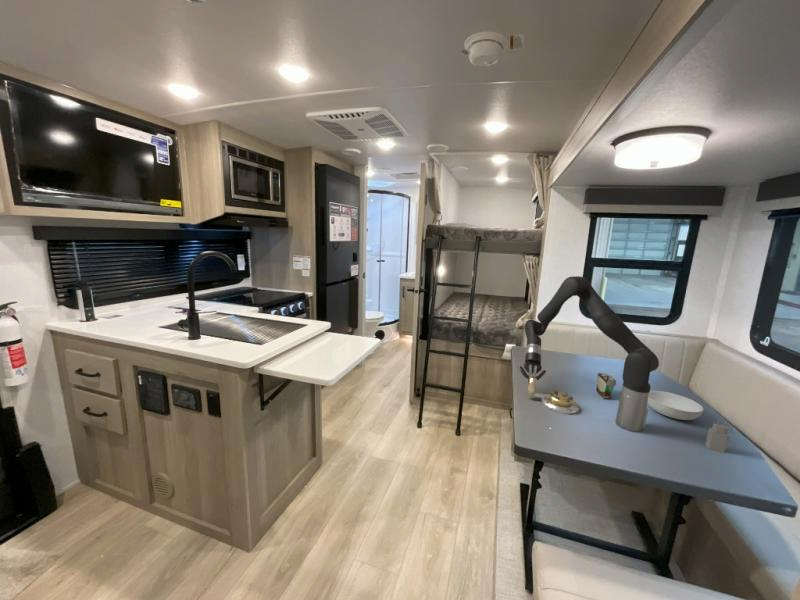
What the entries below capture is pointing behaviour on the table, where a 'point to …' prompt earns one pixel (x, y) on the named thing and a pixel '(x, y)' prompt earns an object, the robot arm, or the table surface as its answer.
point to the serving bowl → (674, 405)
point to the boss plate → (559, 409)
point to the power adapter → (717, 437)
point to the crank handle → (550, 395)
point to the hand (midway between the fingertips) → (531, 386)
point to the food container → (605, 385)
